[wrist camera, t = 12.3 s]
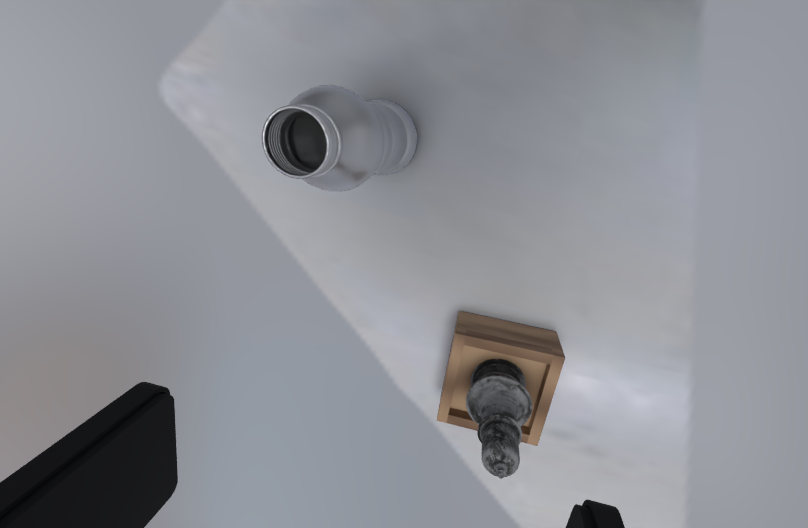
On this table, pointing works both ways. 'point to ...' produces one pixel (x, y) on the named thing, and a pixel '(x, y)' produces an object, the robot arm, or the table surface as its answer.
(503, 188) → the table surface
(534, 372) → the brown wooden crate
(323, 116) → the plastic bottle
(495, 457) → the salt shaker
